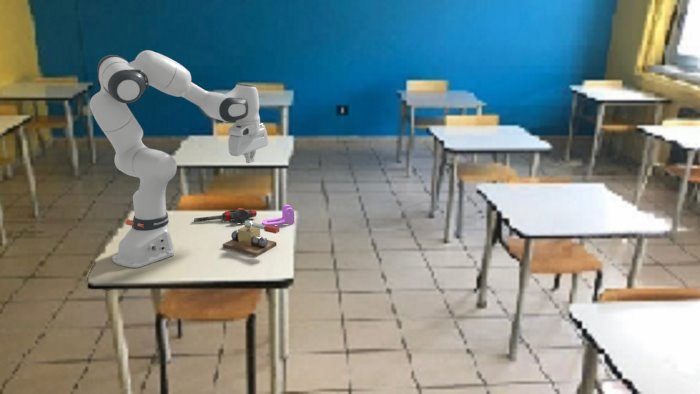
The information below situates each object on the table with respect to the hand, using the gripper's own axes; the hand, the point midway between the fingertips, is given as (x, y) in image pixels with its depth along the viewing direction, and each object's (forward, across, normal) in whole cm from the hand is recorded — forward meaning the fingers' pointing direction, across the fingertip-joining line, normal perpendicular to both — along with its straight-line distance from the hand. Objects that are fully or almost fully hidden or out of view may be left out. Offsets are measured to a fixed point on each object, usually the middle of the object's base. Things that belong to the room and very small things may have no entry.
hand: (250, 162), depth 233 cm
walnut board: (+29, +12, +8) cm, 32 cm away
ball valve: (+28, +12, +8) cm, 31 cm away
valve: (+30, -7, -20) cm, 36 cm away
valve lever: (+21, +12, +13) cm, 28 cm away
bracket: (+30, -13, +3) cm, 32 cm away
